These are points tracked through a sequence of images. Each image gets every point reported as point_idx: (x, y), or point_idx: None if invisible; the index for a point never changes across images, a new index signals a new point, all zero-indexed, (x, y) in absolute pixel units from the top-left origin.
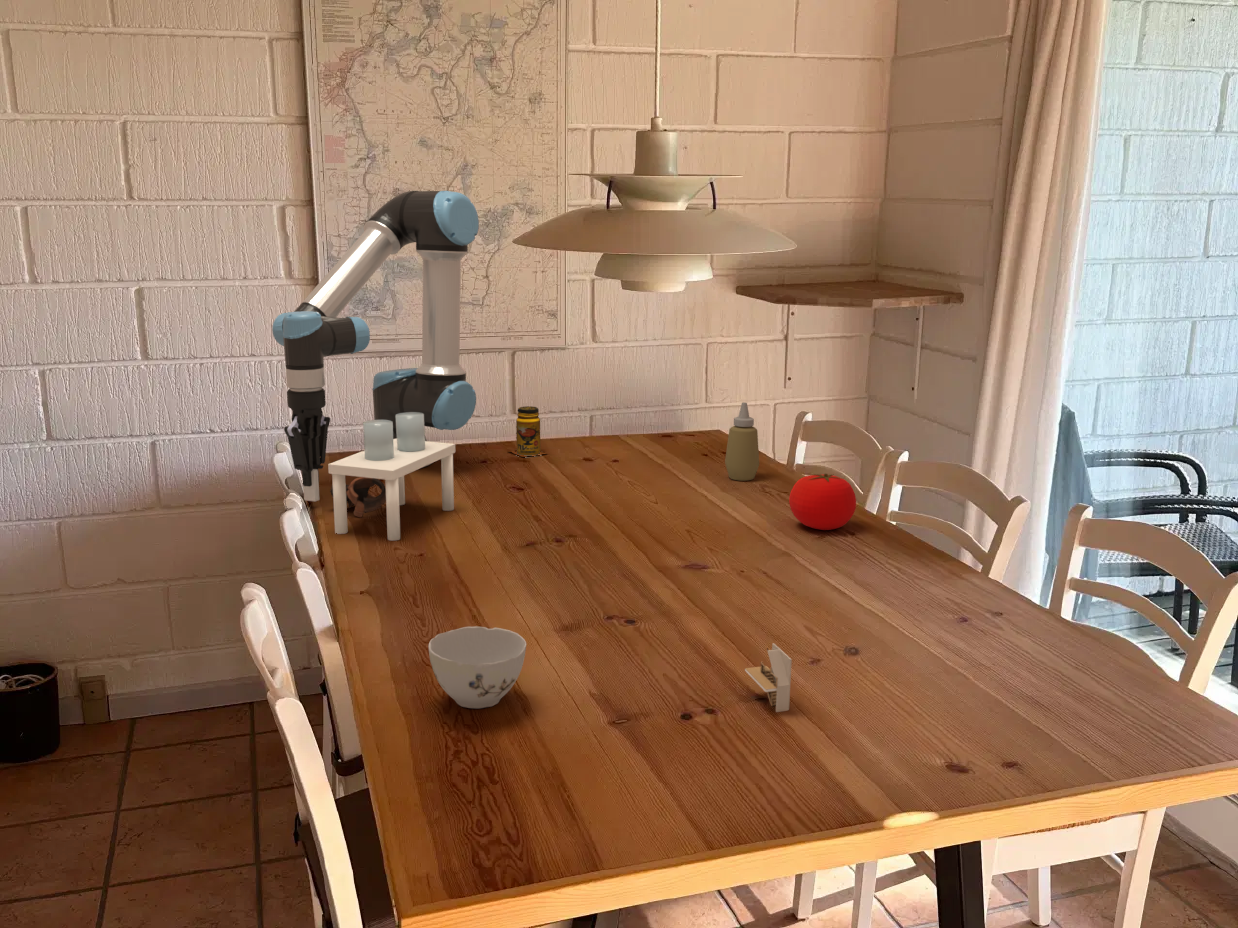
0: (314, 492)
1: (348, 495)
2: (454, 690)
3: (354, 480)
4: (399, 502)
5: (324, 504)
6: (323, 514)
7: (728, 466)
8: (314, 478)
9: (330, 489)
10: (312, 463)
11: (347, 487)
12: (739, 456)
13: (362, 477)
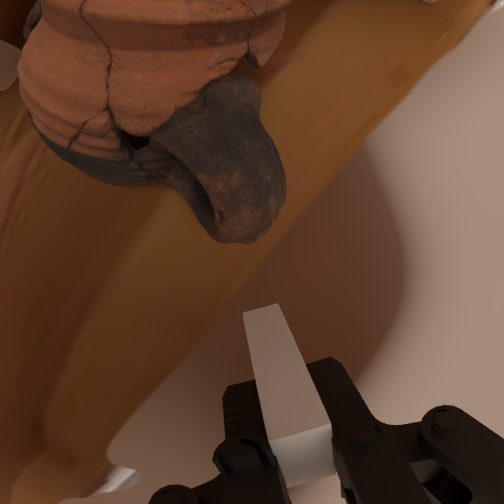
0: (288, 329)
1: (280, 33)
2: None
3: (185, 11)
4: (13, 46)
5: (194, 313)
6: (316, 187)
7: None
8: (306, 383)
9: (255, 240)
10: (355, 478)
11: (225, 80)
12: None
13: (95, 1)
